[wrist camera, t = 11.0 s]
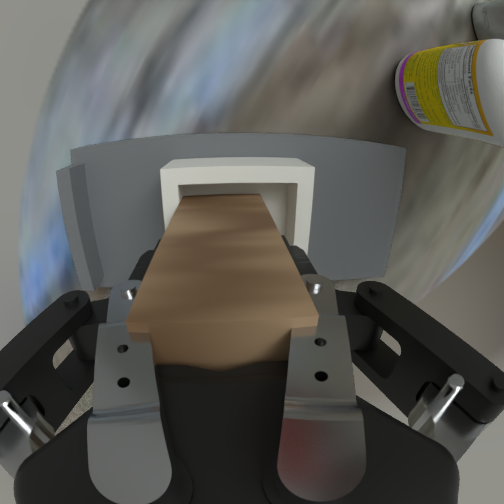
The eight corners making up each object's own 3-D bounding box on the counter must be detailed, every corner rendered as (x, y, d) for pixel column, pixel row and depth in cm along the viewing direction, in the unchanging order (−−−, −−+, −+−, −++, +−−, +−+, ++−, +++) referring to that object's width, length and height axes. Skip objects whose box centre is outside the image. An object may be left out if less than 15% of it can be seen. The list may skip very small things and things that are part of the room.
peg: (259, 193, 15) (318, 315, 6) (258, 261, 16) (296, 415, 7) (183, 195, 14) (125, 321, 5) (189, 264, 16) (163, 420, 7)
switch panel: (391, 144, 18) (424, 152, 14) (373, 264, 22) (396, 290, 19) (83, 146, 16) (54, 154, 12) (104, 273, 20) (86, 303, 17)
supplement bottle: (456, 80, 15) (579, 93, 4) (441, 144, 18) (569, 189, 6) (399, 37, 14) (534, 11, 2) (381, 107, 17) (534, 123, 5)
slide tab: (296, 158, 16) (314, 167, 13) (289, 266, 19) (302, 295, 16) (173, 159, 15) (159, 169, 12) (181, 269, 18) (174, 300, 15)
